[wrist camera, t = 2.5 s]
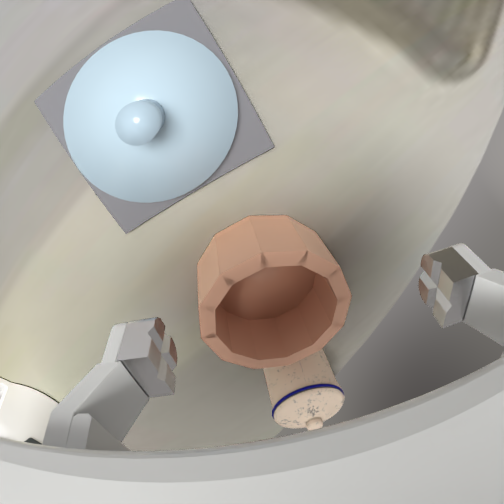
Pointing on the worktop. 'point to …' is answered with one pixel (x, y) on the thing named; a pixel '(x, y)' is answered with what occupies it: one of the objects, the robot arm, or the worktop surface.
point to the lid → (150, 116)
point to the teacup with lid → (304, 392)
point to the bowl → (269, 292)
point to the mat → (248, 124)
